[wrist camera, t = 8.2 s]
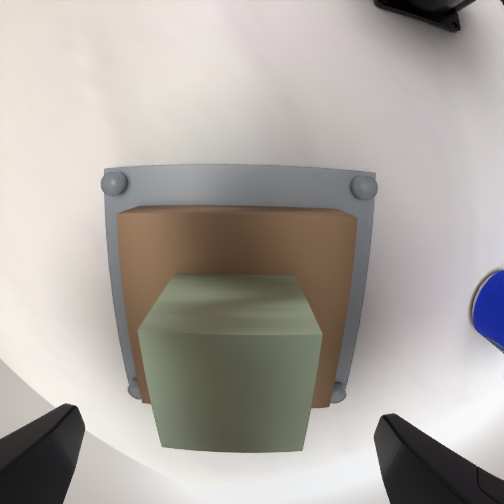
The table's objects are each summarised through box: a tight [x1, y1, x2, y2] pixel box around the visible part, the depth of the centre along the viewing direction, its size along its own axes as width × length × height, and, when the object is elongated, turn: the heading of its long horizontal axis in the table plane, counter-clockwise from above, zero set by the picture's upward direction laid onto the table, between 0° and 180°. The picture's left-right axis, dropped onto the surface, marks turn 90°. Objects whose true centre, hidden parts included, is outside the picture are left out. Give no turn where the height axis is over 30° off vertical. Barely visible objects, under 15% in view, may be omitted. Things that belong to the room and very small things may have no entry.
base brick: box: [116, 205, 358, 408], centre depth 15 cm, size 10×10×3 cm
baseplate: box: [101, 164, 378, 403], centre depth 16 cm, size 14×14×2 cm
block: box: [138, 273, 323, 453], centre depth 11 cm, size 5×5×5 cm
